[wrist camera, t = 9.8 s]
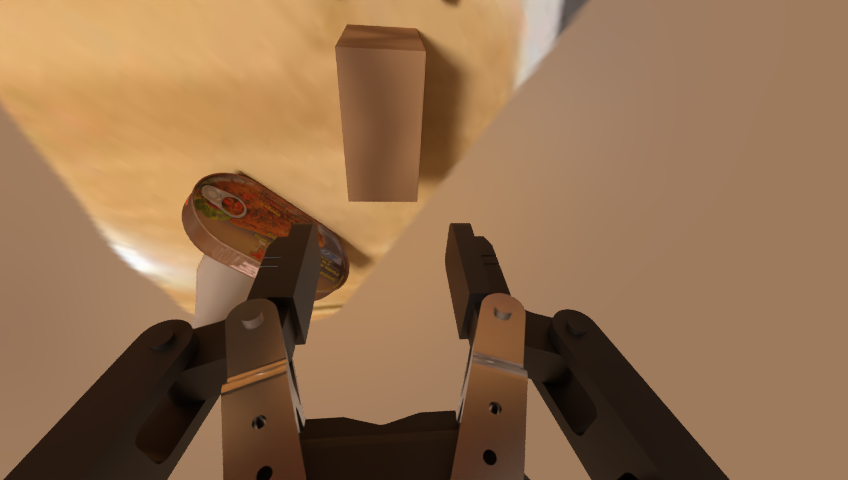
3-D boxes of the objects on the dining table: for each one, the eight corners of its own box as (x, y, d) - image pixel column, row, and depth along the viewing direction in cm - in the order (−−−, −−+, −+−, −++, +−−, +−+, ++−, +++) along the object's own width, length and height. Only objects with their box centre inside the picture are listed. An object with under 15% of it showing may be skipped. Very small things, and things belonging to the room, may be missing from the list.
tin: (353, 244, 38) (347, 304, 32) (335, 260, 39) (326, 320, 33) (219, 155, 30) (174, 210, 24) (202, 178, 32) (154, 236, 25)
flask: (265, 298, 42) (239, 375, 34) (199, 288, 40) (155, 367, 32) (270, 256, 38) (241, 332, 30) (196, 242, 36) (145, 320, 28)
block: (416, 28, 26) (426, 51, 19) (410, 154, 32) (417, 201, 26) (347, 24, 25) (335, 46, 19) (355, 153, 31) (348, 201, 25)
